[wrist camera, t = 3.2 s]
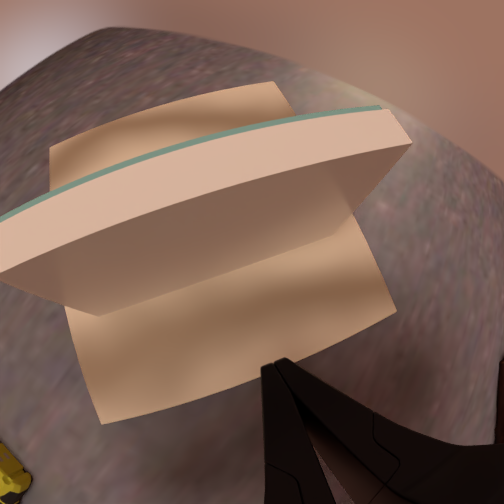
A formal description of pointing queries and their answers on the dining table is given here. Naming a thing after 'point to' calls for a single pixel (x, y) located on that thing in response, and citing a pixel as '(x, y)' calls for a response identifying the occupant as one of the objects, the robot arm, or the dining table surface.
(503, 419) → the pastry
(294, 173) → the tile
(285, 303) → the board
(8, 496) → the stun gun
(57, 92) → the dining table surface
